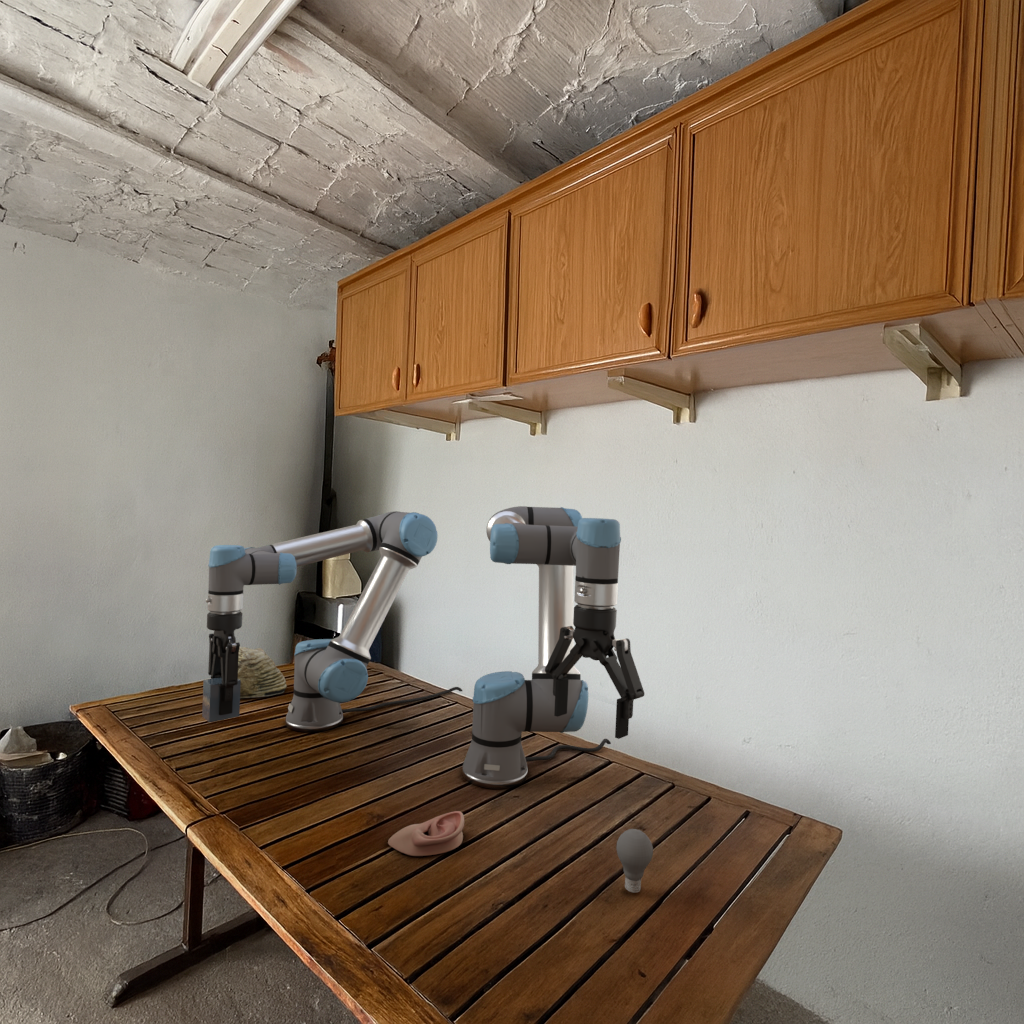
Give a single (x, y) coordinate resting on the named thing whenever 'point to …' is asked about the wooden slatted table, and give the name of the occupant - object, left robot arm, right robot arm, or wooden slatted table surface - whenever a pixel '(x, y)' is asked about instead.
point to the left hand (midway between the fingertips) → (221, 710)
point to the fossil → (258, 674)
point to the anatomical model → (430, 835)
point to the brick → (212, 700)
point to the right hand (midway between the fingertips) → (589, 725)
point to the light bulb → (634, 857)
